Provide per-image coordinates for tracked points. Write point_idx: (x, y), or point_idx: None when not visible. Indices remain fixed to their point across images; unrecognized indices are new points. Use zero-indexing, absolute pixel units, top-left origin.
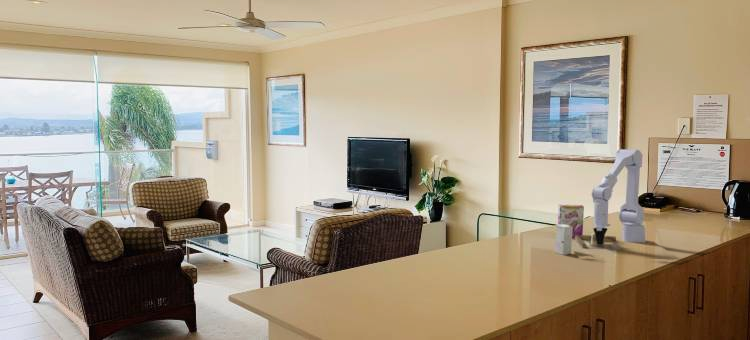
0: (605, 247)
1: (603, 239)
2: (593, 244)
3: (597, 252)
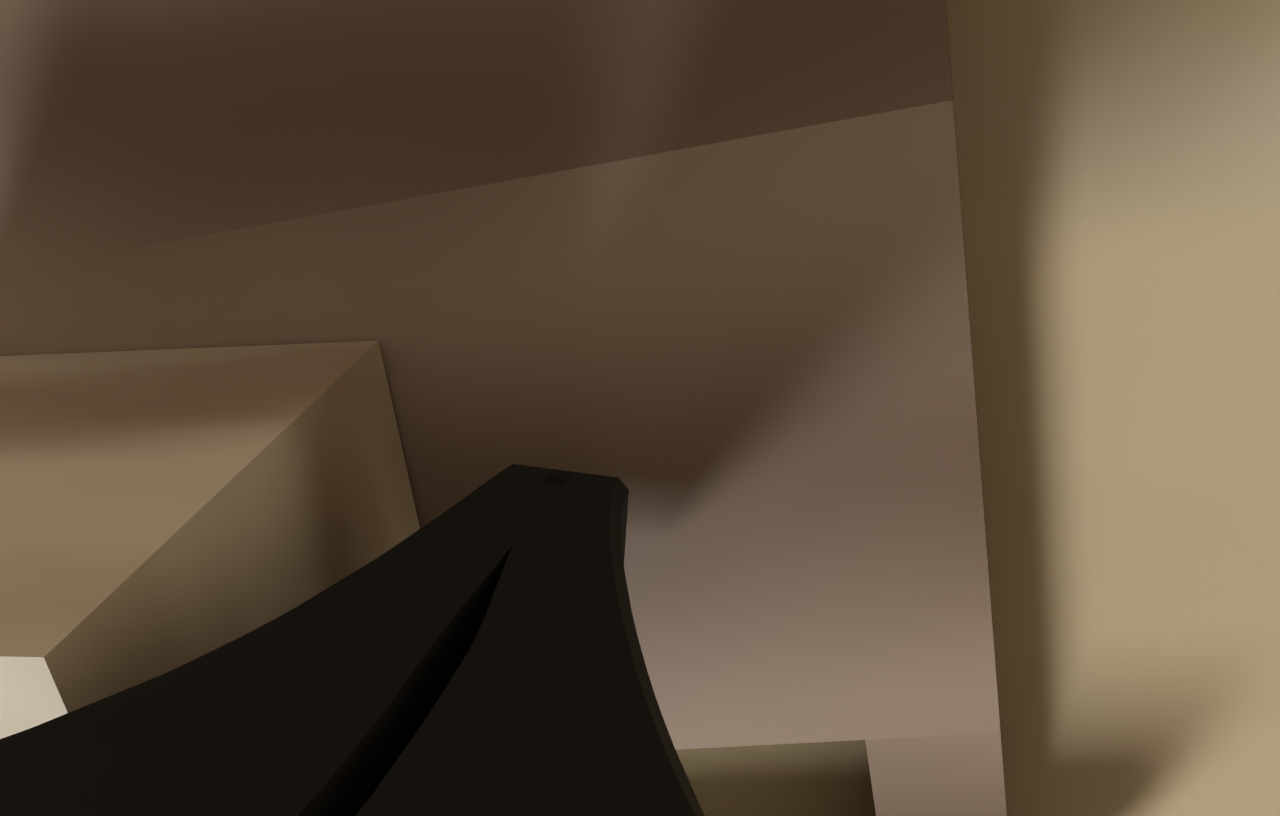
0: (642, 300)
1: (625, 602)
2: None
3: (1183, 555)
